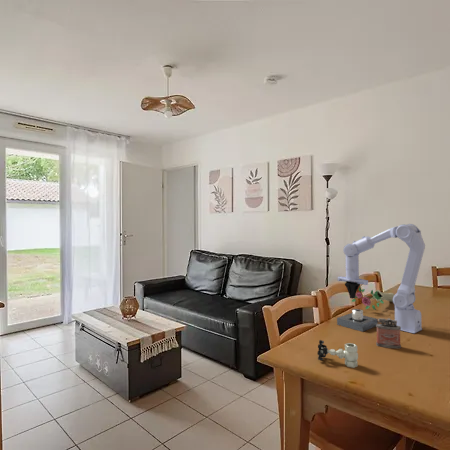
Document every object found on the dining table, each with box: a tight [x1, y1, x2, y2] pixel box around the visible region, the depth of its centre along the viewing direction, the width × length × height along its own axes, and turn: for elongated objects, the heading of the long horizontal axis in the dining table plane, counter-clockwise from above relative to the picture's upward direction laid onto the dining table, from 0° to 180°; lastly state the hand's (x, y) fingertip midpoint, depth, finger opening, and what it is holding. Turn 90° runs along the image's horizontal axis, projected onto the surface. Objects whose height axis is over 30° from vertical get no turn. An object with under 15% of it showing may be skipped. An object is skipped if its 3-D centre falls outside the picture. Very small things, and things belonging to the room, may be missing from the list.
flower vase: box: [351, 286, 396, 311], centre depth 171 cm, size 12×12×35 cm
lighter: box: [375, 318, 402, 349], centre depth 119 cm, size 8×3×10 cm, turn 71°
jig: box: [336, 312, 379, 333], centre depth 143 cm, size 12×12×3 cm
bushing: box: [351, 308, 364, 322], centre depth 141 cm, size 4×4×7 cm
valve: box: [317, 339, 359, 369], centre depth 106 cm, size 7×7×12 cm
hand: (352, 298), depth 153 cm, fingers closed
